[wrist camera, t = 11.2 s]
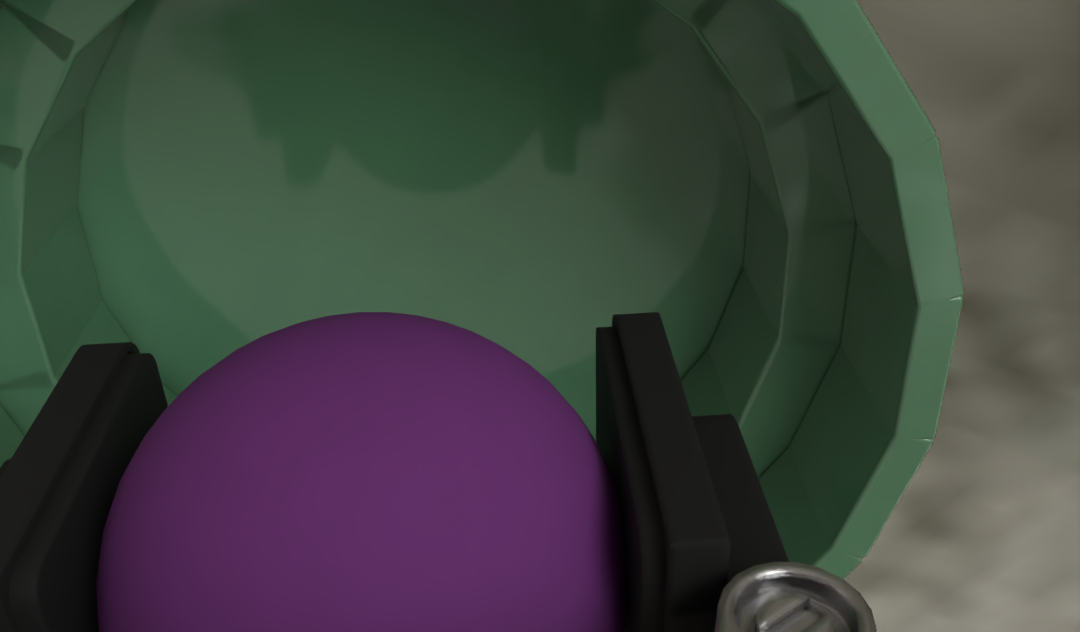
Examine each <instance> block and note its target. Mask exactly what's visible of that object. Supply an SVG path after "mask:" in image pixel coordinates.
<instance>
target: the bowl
mask: <svg viewBox="0 0 1080 632" xmlns="http://www.w3.org/2000/svg"><path fill="white" fill-rule="evenodd" d="M962 295H964V287H963V281H962V275H961V269H960V264H959V258H958V252H957V246H956V240H955V234H954V228H953V222H952V216H951V210H950V204H949V198H948V192H947V186H946V180H945V174H944V168H943V162H942V156H941V150H940V144H939V139H938V137H937V136H936V133H935V129H934V127H933V126H932V124H931V122H930V121H929V119H928V117H927V116H926V114H925V112H924V111H923V109H922V107H921V106H920V104H919V102H918V101H917V99H916V97H915V96H914V94H913V92H912V91H911V89H910V87H909V86H908V84H907V82H906V81H905V79H904V78H903V76H902V74H901V73H900V71H899V69H898V68H897V66H896V64H895V63H894V61H893V59H892V58H891V56H890V54H889V53H888V51H887V49H886V48H885V46H884V44H883V43H882V41H881V39H880V38H879V36H878V34H877V33H876V31H875V30H874V28H873V26H872V25H871V23H870V21H869V20H868V18H867V16H866V15H865V13H864V11H863V10H862V8H861V6H860V5H859V3H858V1H857V0H0V467H1V466H2V464H3V463H4V462H5V461H6V460H9V459H11V458H12V456H13V455H14V453H15V451H16V450H17V448H18V446H19V445H20V443H21V442H22V440H23V438H24V437H25V435H26V433H27V432H28V430H29V428H30V427H31V425H32V424H33V422H34V420H35V419H36V417H37V415H38V414H39V412H40V410H41V409H42V407H43V405H44V404H45V402H46V401H47V399H48V397H49V396H50V394H51V392H52V391H53V389H54V387H55V386H56V384H57V382H58V381H59V379H60V378H61V376H62V374H63V373H64V371H65V369H66V368H67V366H68V364H69V363H70V361H71V359H72V358H73V356H74V355H75V353H76V351H77V350H78V349H79V348H80V346H81V345H86V344H104V343H121V342H132V343H134V344H135V345H136V346H137V348H138V349H139V352H140V353H150V354H152V355H153V356H154V358H155V360H156V363H157V366H158V370H159V374H160V378H161V381H162V385H163V389H164V393H165V397H166V401H167V404H168V406H169V405H170V404H171V403H172V402H173V401H174V399H175V398H176V397H177V396H178V395H179V394H180V393H181V392H182V391H183V390H184V389H186V388H187V387H188V386H189V385H190V384H191V383H192V382H193V381H194V380H195V379H196V378H197V377H198V376H200V375H201V374H203V373H204V372H205V371H207V370H208V369H210V368H211V367H212V366H214V365H215V364H217V363H218V362H220V361H221V360H222V359H224V358H225V357H227V356H228V355H230V354H231V353H232V352H234V351H235V350H237V349H238V348H240V347H242V346H244V345H246V344H248V343H250V342H252V341H254V340H256V339H258V338H260V337H262V336H264V335H267V334H269V333H272V332H275V331H278V330H280V329H283V328H286V327H289V326H291V325H294V324H297V323H300V322H304V321H308V320H313V319H317V318H321V317H325V316H330V315H338V314H347V313H356V312H392V313H401V314H409V315H418V316H422V317H427V318H431V319H435V320H440V321H444V322H447V323H450V324H453V325H456V326H459V327H462V328H464V329H467V330H470V331H473V332H475V333H477V334H479V335H481V336H483V337H485V338H487V339H489V340H491V341H493V342H495V343H497V344H499V345H500V346H502V347H504V348H505V349H507V350H508V351H510V352H511V353H513V354H514V355H516V356H517V357H519V358H521V359H522V360H524V361H525V362H527V363H528V364H530V365H531V366H532V367H533V368H534V369H535V370H537V371H538V372H539V373H540V374H541V375H542V376H544V377H545V378H546V379H547V380H548V381H549V382H551V384H552V385H553V386H554V387H555V388H556V389H557V390H558V392H559V393H560V394H561V395H562V396H563V397H564V398H565V400H566V401H567V402H568V403H569V404H570V405H571V406H572V408H573V409H574V410H575V411H576V412H577V413H578V414H579V416H580V417H581V419H582V420H583V422H584V423H585V425H586V426H587V428H588V430H589V431H590V433H591V434H592V436H593V437H594V439H595V441H596V328H597V327H612V318H613V315H615V314H633V313H651V312H658V313H659V314H660V316H661V319H662V323H663V326H664V329H665V332H666V335H667V339H668V342H669V345H670V348H671V352H672V355H673V358H674V361H675V364H676V368H677V371H678V374H679V377H680V380H681V384H682V387H683V390H684V393H685V397H686V400H687V403H688V406H689V409H690V413H691V416H706V415H723V414H731V415H732V416H734V417H735V419H736V421H737V423H738V425H739V428H740V431H741V434H742V436H743V439H744V442H745V444H746V447H747V450H748V452H749V455H750V458H751V460H752V463H753V466H754V468H755V471H756V474H757V477H758V479H759V482H760V485H761V487H762V490H763V493H764V495H765V498H766V501H767V503H768V506H769V509H770V511H771V514H772V517H773V519H774V522H775V525H776V528H777V530H778V533H779V536H780V538H781V541H782V544H783V546H784V549H785V552H786V554H787V557H788V560H789V562H799V563H803V564H807V565H811V566H815V567H819V568H822V569H824V570H826V571H828V572H830V573H832V574H834V575H836V576H838V577H840V578H842V579H844V578H845V577H846V576H847V575H848V574H849V573H851V572H852V571H853V570H854V569H855V568H856V567H857V566H858V565H859V564H860V563H861V562H862V558H865V557H866V556H867V554H868V553H869V551H870V549H871V547H872V546H873V544H874V542H875V541H876V539H877V537H878V536H879V534H880V532H881V530H882V529H883V527H884V525H885V524H886V522H887V520H888V519H889V517H890V515H891V513H892V512H893V510H894V508H895V507H896V505H897V503H898V502H899V500H900V498H901V496H902V495H903V493H904V491H905V490H906V488H907V486H908V485H909V483H910V481H911V479H912V478H913V476H914V474H915V473H916V471H917V469H918V468H919V466H920V464H921V462H922V461H923V459H924V457H925V456H926V454H927V452H928V451H929V449H930V447H931V445H932V444H933V438H934V437H935V436H936V432H937V427H938V422H939V417H940V412H941V407H942V402H943V397H944V392H945V387H946V382H947V377H948V373H949V368H950V363H951V358H952V353H953V348H954V343H955V338H956V333H957V328H958V323H959V318H960V313H961V308H962V303H963V296H962Z"/></svg>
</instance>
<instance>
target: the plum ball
mask: <svg viewBox="0 0 1080 632" xmlns="http://www.w3.org/2000/svg"><path fill="white" fill-rule="evenodd" d="M96 593H97V611H98V626H99V632H623V631H624V628H625V624H626V614H627V603H628V596H627V567H626V555H625V542H624V530H623V522H622V515H621V507H620V501H619V496H618V492H617V489H616V486H615V482H614V479H613V477H612V474H611V472H610V470H609V468H608V465H607V463H606V461H605V458H604V456H603V454H602V452H601V450H600V449H599V447H598V445H597V443H596V441H595V439H594V437H593V436H592V434H591V433H590V431H589V430H588V428H587V426H586V425H585V423H584V422H583V420H582V419H581V417H580V416H579V414H578V413H577V412H576V411H575V410H574V409H573V408H572V406H571V405H570V404H569V403H568V402H567V401H566V400H565V398H564V397H563V396H562V395H561V394H560V393H559V392H558V390H557V389H556V388H555V387H554V386H553V385H552V384H551V382H549V381H548V380H547V379H546V378H545V377H544V376H542V375H541V374H540V373H539V372H538V371H537V370H535V369H534V368H533V367H532V366H531V365H530V364H528V363H527V362H525V361H524V360H522V359H521V358H519V357H517V356H516V355H514V354H513V353H511V352H510V351H508V350H507V349H505V348H504V347H502V346H500V345H499V344H497V343H495V342H493V341H491V340H489V339H487V338H485V337H483V336H481V335H479V334H477V333H475V332H473V331H470V330H467V329H464V328H462V327H459V326H456V325H453V324H450V323H447V322H444V321H440V320H435V319H431V318H427V317H422V316H418V315H409V314H401V313H392V312H356V313H347V314H338V315H330V316H325V317H321V318H317V319H313V320H308V321H304V322H300V323H297V324H294V325H291V326H289V327H286V328H283V329H280V330H278V331H275V332H272V333H269V334H267V335H264V336H262V337H260V338H258V339H256V340H254V341H252V342H250V343H248V344H246V345H244V346H242V347H240V348H238V349H237V350H235V351H234V352H232V353H231V354H230V355H228V356H227V357H225V358H224V359H222V360H221V361H220V362H218V363H217V364H215V365H214V366H212V367H211V368H210V369H208V370H207V371H205V372H204V373H203V374H201V375H200V376H198V377H197V378H196V379H195V380H194V381H193V382H192V383H191V384H190V385H189V386H188V387H187V388H186V389H184V390H183V391H182V392H181V393H180V394H179V395H178V396H177V397H176V398H175V399H174V401H173V402H172V403H171V404H170V405H169V406H168V407H167V408H166V410H165V411H164V412H163V413H162V414H161V415H160V417H159V418H158V419H157V421H156V422H155V423H154V425H153V426H152V427H151V428H150V430H149V431H148V432H147V434H146V435H145V436H144V438H143V440H142V442H141V443H140V445H139V447H138V449H137V450H136V452H135V454H134V456H133V457H132V459H131V461H130V463H129V465H128V467H127V469H126V470H125V472H124V474H123V476H122V478H121V480H120V482H119V485H118V488H117V491H116V494H115V497H114V500H113V502H112V505H111V508H110V512H109V515H108V518H107V521H106V524H105V527H104V530H103V535H102V543H101V550H100V557H99V565H98V573H97V581H96Z"/></svg>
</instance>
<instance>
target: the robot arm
mask: <svg viewBox="0 0 1080 632" xmlns="http://www.w3.org/2000/svg"><path fill="white" fill-rule="evenodd" d="M167 407H168V404H167V401H166V397H165V393H164V389H163V385H162V381H161V378H160V374H159V370H158V366H157V363H156V360H155V358H154V356H153V355H152V354H150V353H140V352H139V349H138V348H137V346H136V345H135V344H134V343H132V342H121V343H104V344H86V345H81V346H80V348H79V349H78V350H77V351H76V353H75V355H74V356H73V358H72V359H71V361H70V363H69V364H68V366H67V368H66V369H65V371H64V373H63V374H62V376H61V378H60V379H59V381H58V382H57V384H56V386H55V387H54V389H53V391H52V392H51V394H50V396H49V397H48V399H47V401H46V402H45V404H44V405H43V407H42V409H41V410H40V412H39V414H38V415H37V417H36V419H35V420H34V422H33V424H32V425H31V427H30V428H29V430H28V432H27V433H26V435H25V437H24V438H23V440H22V442H21V443H20V445H19V446H18V448H17V450H16V451H15V453H14V455H13V456H12V458H11V459H9V460H6V461H5V462H4V463H3V464H2V466H1V467H0V632H99V626H98V611H97V593H96V581H97V573H98V565H99V557H100V550H101V543H102V535H103V530H104V527H105V524H106V521H107V518H108V515H109V512H110V508H111V505H112V502H113V500H114V497H115V494H116V491H117V488H118V485H119V482H120V480H121V478H122V476H123V474H124V472H125V470H126V469H127V467H128V465H129V463H130V461H131V459H132V457H133V456H134V454H135V452H136V450H137V449H138V447H139V445H140V443H141V442H142V440H143V438H144V436H145V435H146V434H147V432H148V431H149V430H150V428H151V427H152V426H153V425H154V423H155V422H156V421H157V419H158V418H159V417H160V415H161V414H162V413H163V412H164V411H165V410H166V408H167ZM596 443H597V445H598V447H599V449H600V450H601V452H602V454H603V456H604V458H605V461H606V463H607V465H608V468H609V470H610V472H611V474H612V477H613V479H614V482H615V486H616V489H617V492H618V496H619V501H620V507H621V515H622V522H623V530H624V542H625V555H626V567H627V596H628V603H627V614H626V624H625V628H624V631H623V632H876V625H875V621H874V618H873V614H872V610H871V609H870V607H869V606H868V604H867V603H866V601H865V600H864V598H863V597H862V595H861V594H860V593H859V592H858V591H857V590H856V589H854V588H853V587H852V586H851V585H850V584H848V583H847V582H846V581H845V580H844V579H842V578H840V577H838V576H836V575H834V574H832V573H830V572H828V571H826V570H824V569H822V568H819V567H815V566H811V565H807V564H803V563H799V562H789V560H788V557H787V554H786V552H785V549H784V546H783V544H782V541H781V538H780V536H779V533H778V530H777V528H776V525H775V522H774V519H773V517H772V514H771V511H770V509H769V506H768V503H767V501H766V498H765V495H764V493H763V490H762V487H761V485H760V482H759V479H758V477H757V474H756V471H755V468H754V466H753V463H752V460H751V458H750V455H749V452H748V450H747V447H746V444H745V442H744V439H743V436H742V434H741V431H740V428H739V425H738V423H737V421H736V419H735V417H734V416H732V415H731V414H723V415H706V416H691V413H690V409H689V406H688V403H687V400H686V397H685V393H684V390H683V387H682V384H681V380H680V377H679V374H678V371H677V368H676V364H675V361H674V358H673V355H672V352H671V348H670V345H669V342H668V339H667V335H666V332H665V329H664V326H663V323H662V319H661V316H660V314H659V313H658V312H651V313H633V314H615V315H613V318H612V327H597V328H596Z"/></svg>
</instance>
